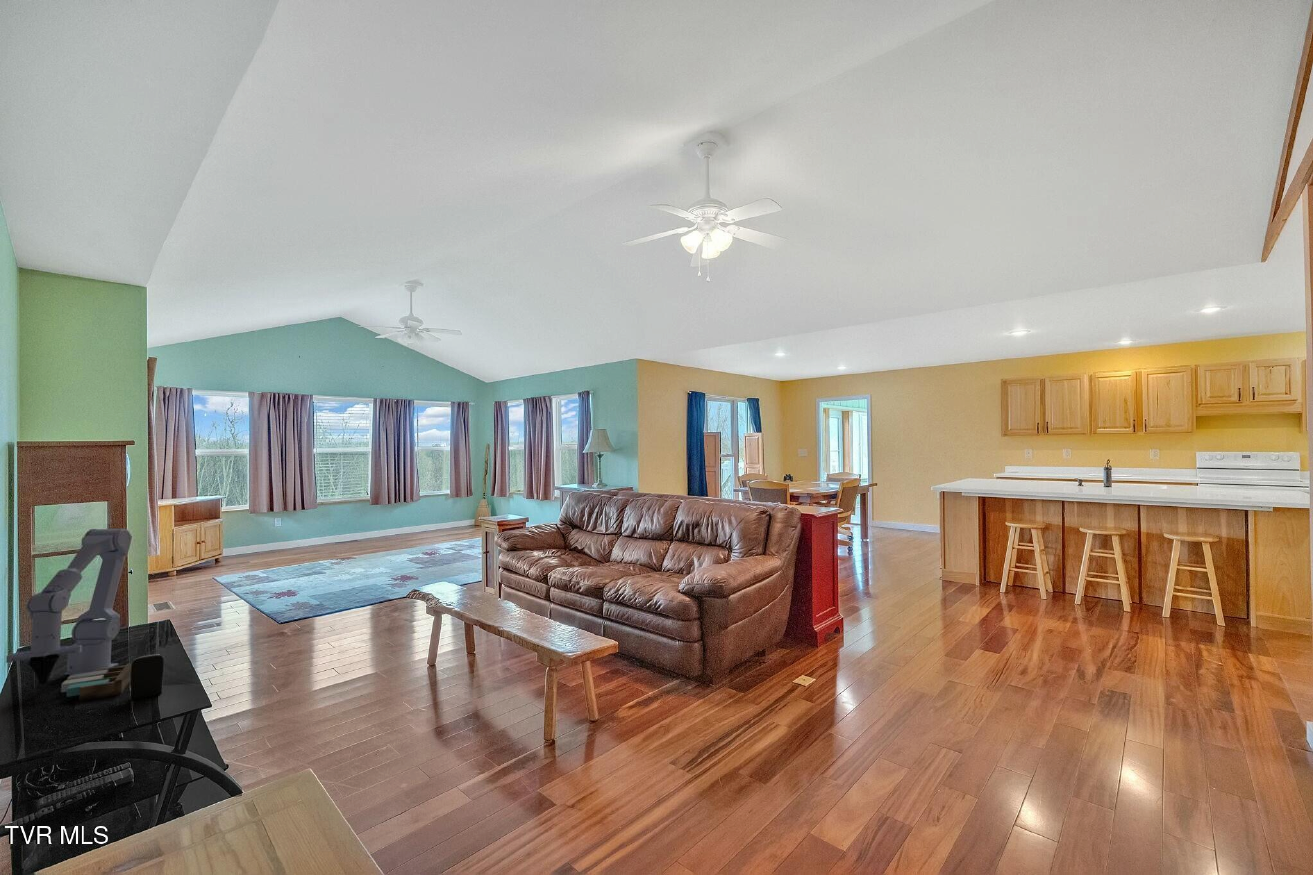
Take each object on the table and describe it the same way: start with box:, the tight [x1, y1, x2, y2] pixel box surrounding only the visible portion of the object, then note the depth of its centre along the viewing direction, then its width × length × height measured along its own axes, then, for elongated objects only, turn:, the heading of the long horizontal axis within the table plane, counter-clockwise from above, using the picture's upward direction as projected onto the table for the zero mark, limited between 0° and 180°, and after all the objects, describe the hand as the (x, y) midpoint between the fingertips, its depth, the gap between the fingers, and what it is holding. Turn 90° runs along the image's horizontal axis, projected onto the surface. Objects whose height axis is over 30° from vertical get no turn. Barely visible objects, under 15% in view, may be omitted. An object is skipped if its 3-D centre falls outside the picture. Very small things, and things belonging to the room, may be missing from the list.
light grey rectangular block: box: [66, 670, 108, 680], centre depth 164 cm, size 8×3×2 cm, turn 124°
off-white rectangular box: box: [60, 675, 104, 693], centre depth 160 cm, size 8×3×2 cm, turn 124°
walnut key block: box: [78, 662, 132, 701], centre depth 163 cm, size 8×16×4 cm, turn 34°
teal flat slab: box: [66, 679, 110, 698], centre depth 157 cm, size 8×3×2 cm, turn 124°
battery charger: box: [129, 652, 165, 701], centre depth 158 cm, size 7×4×11 cm, turn 133°
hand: (43, 682), depth 159 cm, fingers closed
